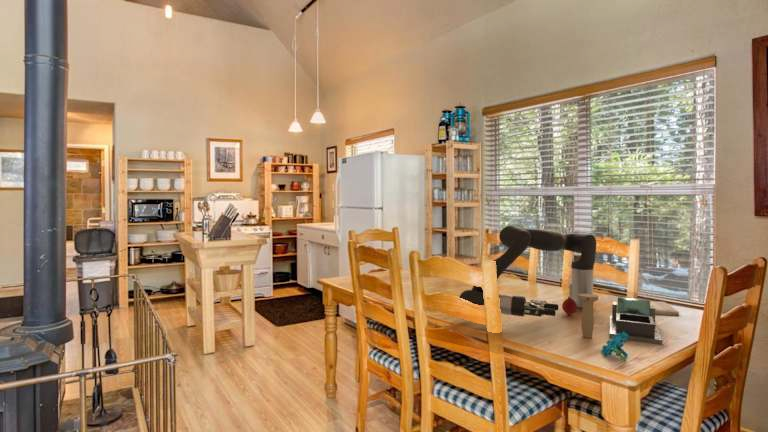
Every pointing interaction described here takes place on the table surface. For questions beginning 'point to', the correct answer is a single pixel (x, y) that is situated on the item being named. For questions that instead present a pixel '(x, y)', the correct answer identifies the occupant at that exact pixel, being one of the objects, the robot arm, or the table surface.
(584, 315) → the handle
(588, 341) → the table surface
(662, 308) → the washcloth
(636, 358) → the table surface
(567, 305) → the onion
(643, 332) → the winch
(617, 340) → the teal lobed piece
